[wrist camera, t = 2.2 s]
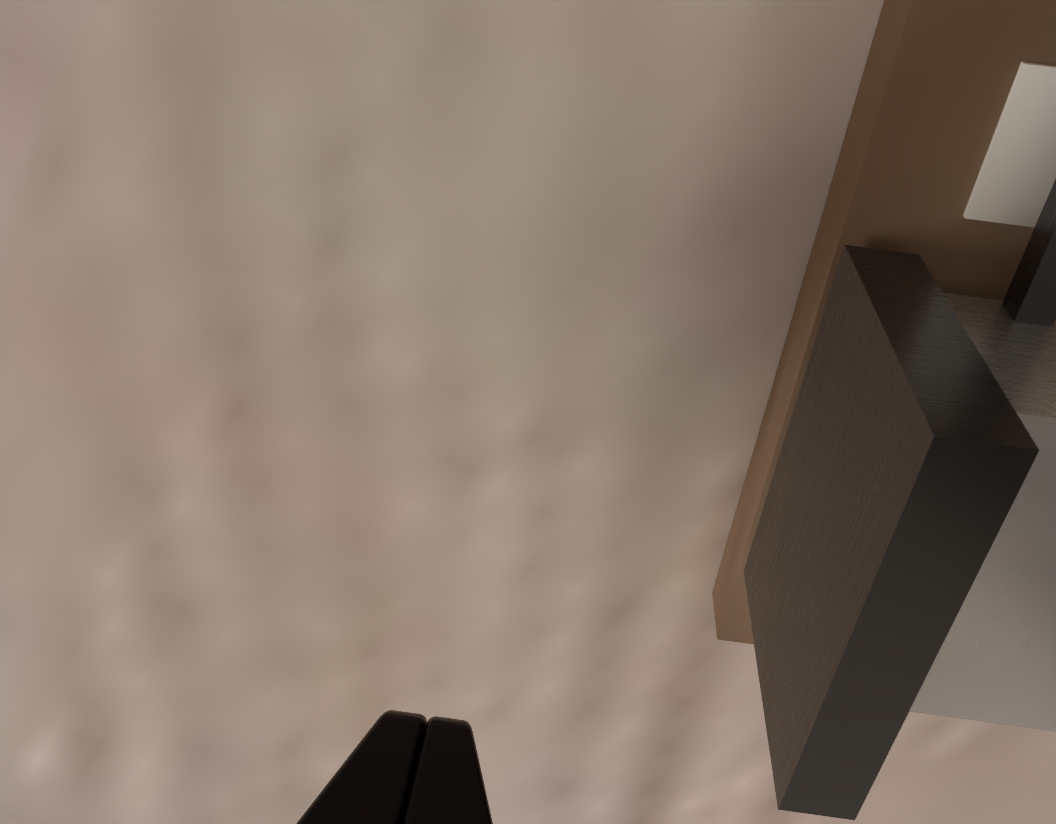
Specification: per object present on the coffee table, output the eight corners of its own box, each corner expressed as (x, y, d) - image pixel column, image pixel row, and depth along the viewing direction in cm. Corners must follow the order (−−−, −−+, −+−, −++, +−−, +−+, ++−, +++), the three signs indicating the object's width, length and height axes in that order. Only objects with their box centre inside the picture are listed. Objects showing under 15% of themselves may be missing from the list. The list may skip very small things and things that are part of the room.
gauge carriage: (1316, -54, 10) (1702, 38, 7) (979, 603, 16) (1085, 851, 12) (951, -99, 10) (1130, -33, 7) (743, 571, 16) (778, 809, 12)
